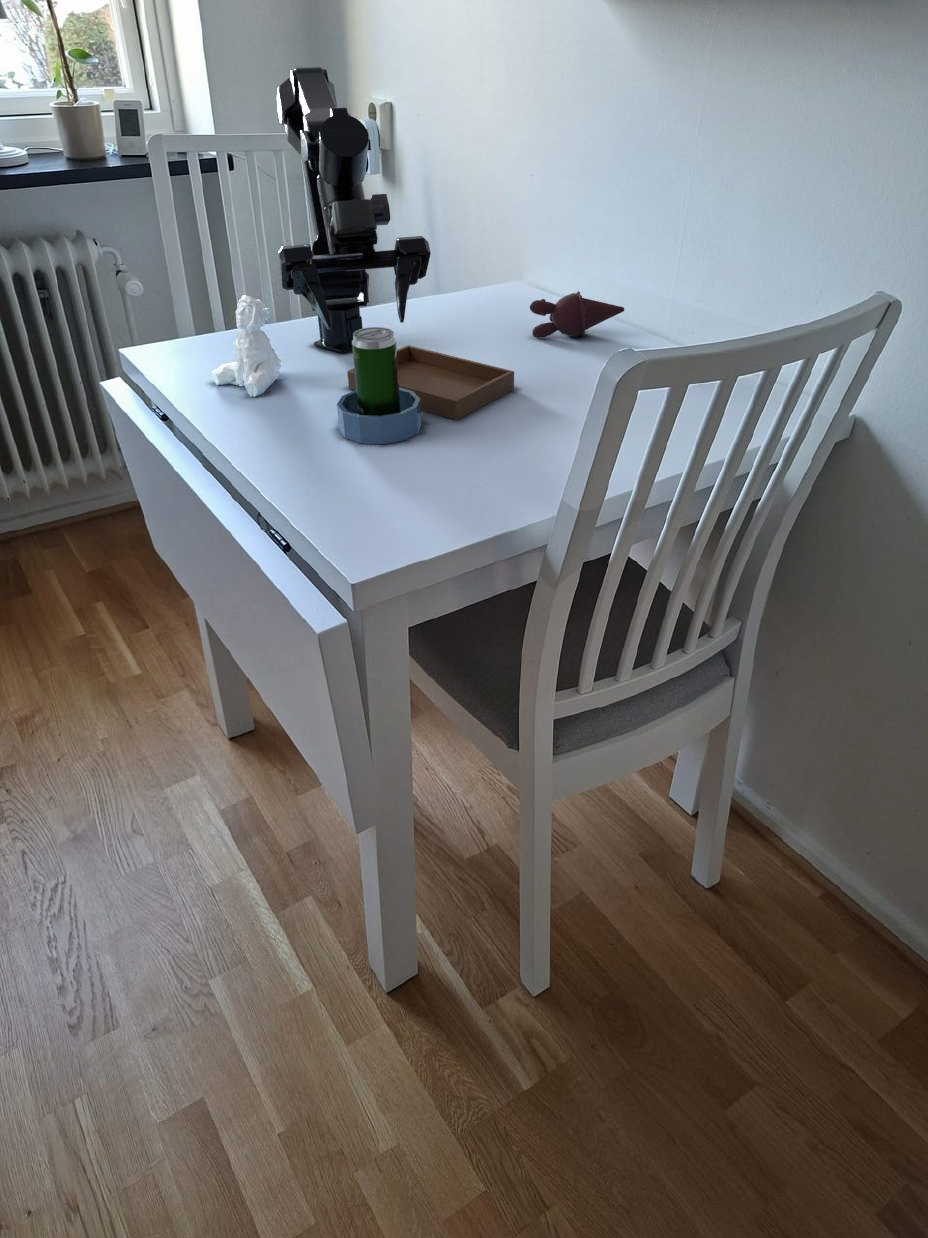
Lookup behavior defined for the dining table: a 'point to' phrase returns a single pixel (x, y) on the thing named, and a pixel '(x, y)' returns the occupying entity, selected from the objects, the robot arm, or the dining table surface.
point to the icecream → (572, 315)
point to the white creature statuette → (251, 351)
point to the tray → (448, 381)
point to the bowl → (379, 420)
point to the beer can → (376, 371)
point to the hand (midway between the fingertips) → (366, 324)
